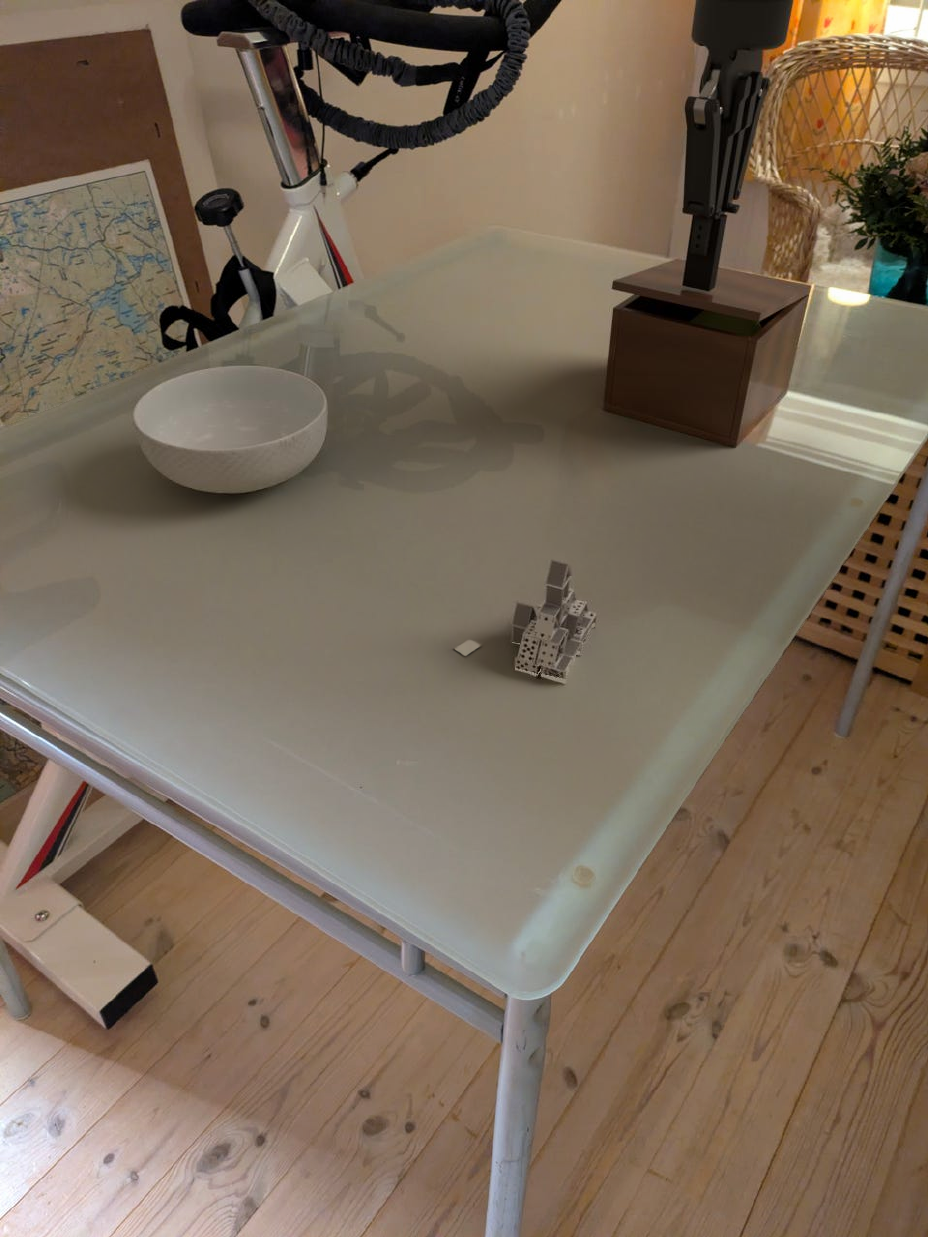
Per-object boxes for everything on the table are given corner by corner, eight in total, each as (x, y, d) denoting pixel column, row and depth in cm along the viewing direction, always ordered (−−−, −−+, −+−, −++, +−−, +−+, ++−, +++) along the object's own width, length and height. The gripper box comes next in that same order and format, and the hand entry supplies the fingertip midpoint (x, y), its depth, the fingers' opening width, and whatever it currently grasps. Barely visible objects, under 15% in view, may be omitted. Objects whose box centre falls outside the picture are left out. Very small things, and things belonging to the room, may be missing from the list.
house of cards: (499, 586, 75) (501, 502, 70) (604, 615, 72) (614, 530, 67) (450, 653, 69) (449, 566, 64) (563, 688, 66) (571, 600, 61)
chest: (735, 447, 93) (757, 341, 86) (602, 409, 99) (612, 307, 92) (786, 393, 102) (809, 293, 95) (662, 362, 109) (675, 266, 102)
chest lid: (758, 321, 84) (760, 312, 84) (611, 289, 91) (612, 280, 90) (809, 293, 95) (811, 285, 95) (675, 266, 102) (676, 258, 101)
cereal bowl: (172, 540, 80) (155, 465, 76) (130, 453, 92) (114, 385, 87) (360, 492, 86) (354, 421, 82) (298, 417, 98) (291, 351, 93)
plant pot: (673, 341, 91) (751, 294, 91) (635, 326, 99) (707, 282, 99) (706, 424, 95) (780, 379, 95) (667, 402, 104) (736, 361, 103)
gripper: (732, -23, 81) (689, 259, 95) (667, -9, 72) (631, 298, 87) (820, -18, 77) (761, 274, 92) (762, -2, 69) (708, 316, 84)
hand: (698, 286), depth 90 cm, fingers closed
